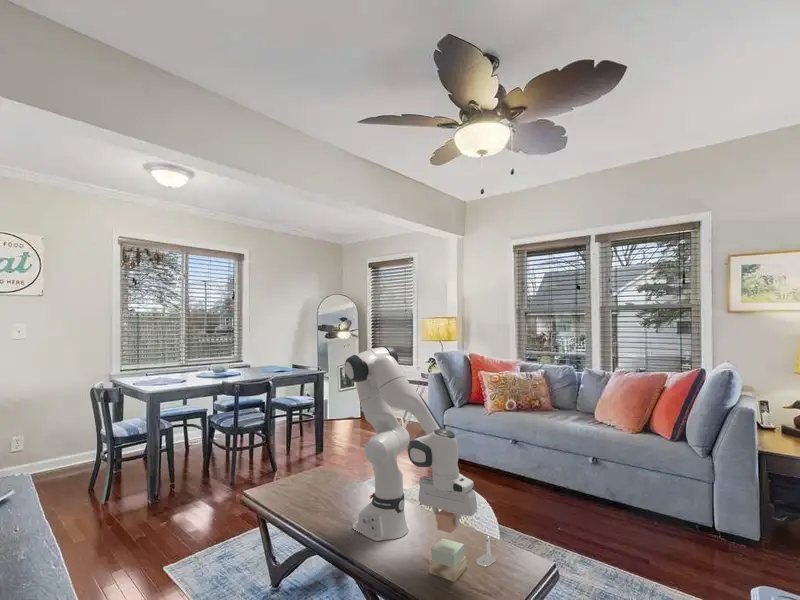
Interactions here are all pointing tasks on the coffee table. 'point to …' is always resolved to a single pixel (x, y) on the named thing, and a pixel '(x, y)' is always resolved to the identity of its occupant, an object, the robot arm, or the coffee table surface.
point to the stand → (486, 555)
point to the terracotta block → (446, 521)
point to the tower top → (448, 553)
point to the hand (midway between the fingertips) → (447, 522)
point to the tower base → (448, 569)
